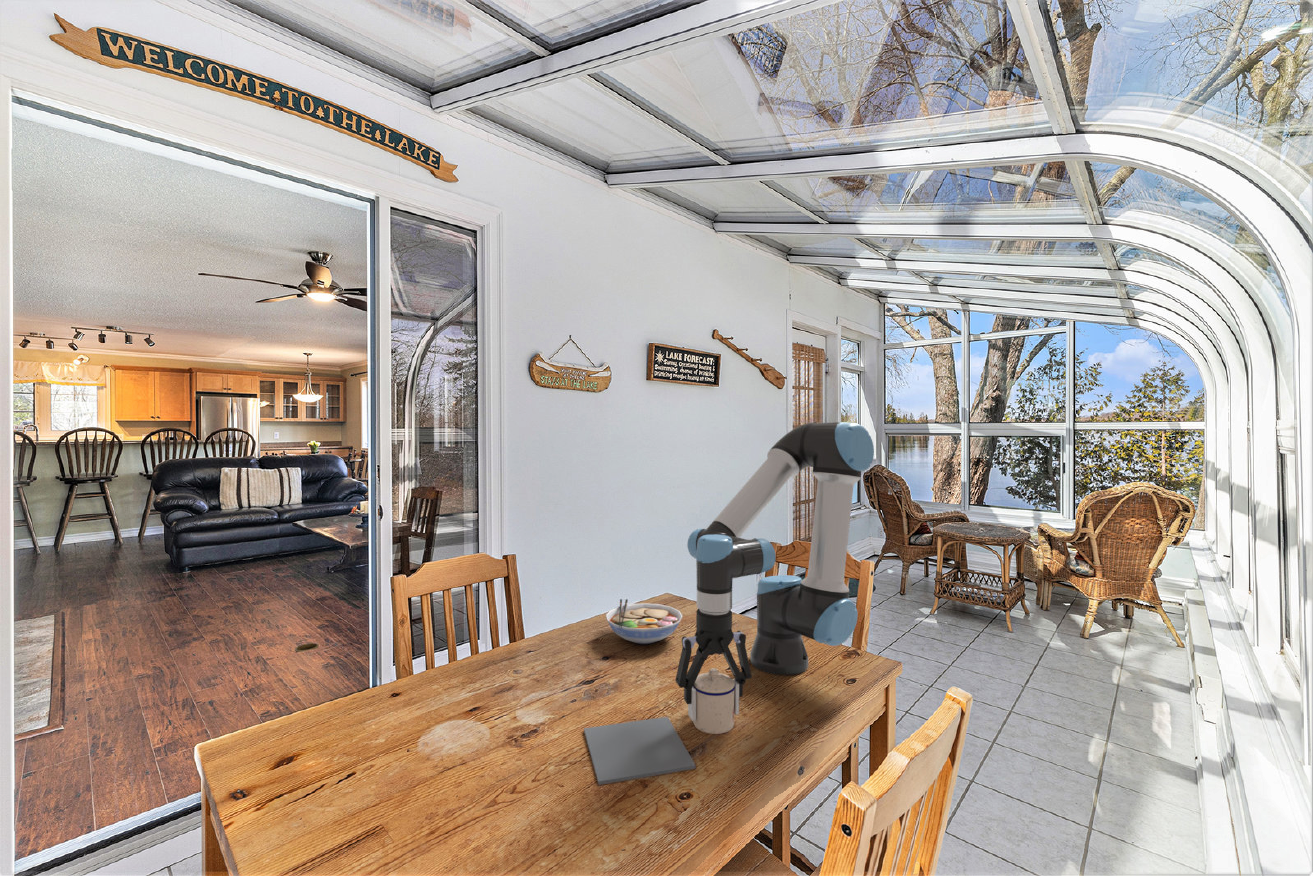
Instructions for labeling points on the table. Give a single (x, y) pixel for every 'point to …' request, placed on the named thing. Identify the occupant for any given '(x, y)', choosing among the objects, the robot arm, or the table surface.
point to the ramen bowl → (643, 621)
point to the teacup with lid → (714, 702)
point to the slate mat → (636, 750)
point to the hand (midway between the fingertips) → (713, 714)
